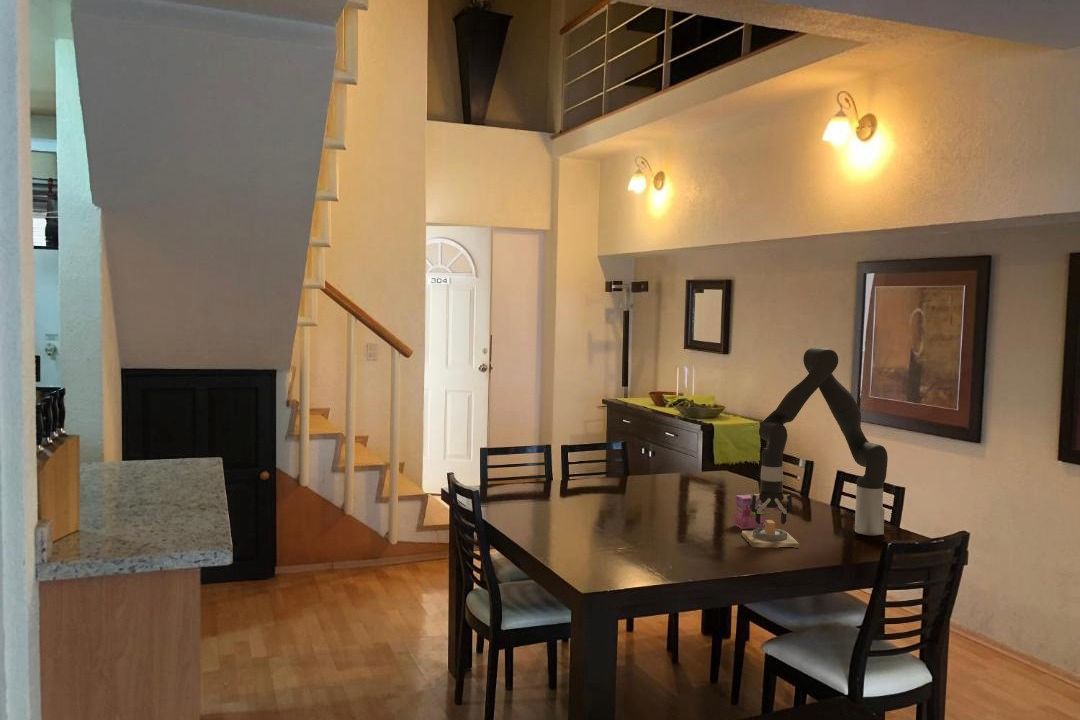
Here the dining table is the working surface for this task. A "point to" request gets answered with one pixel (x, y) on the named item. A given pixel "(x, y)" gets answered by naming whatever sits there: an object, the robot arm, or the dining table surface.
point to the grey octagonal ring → (768, 537)
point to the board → (761, 543)
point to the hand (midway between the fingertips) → (770, 523)
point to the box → (747, 513)
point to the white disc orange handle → (770, 528)
